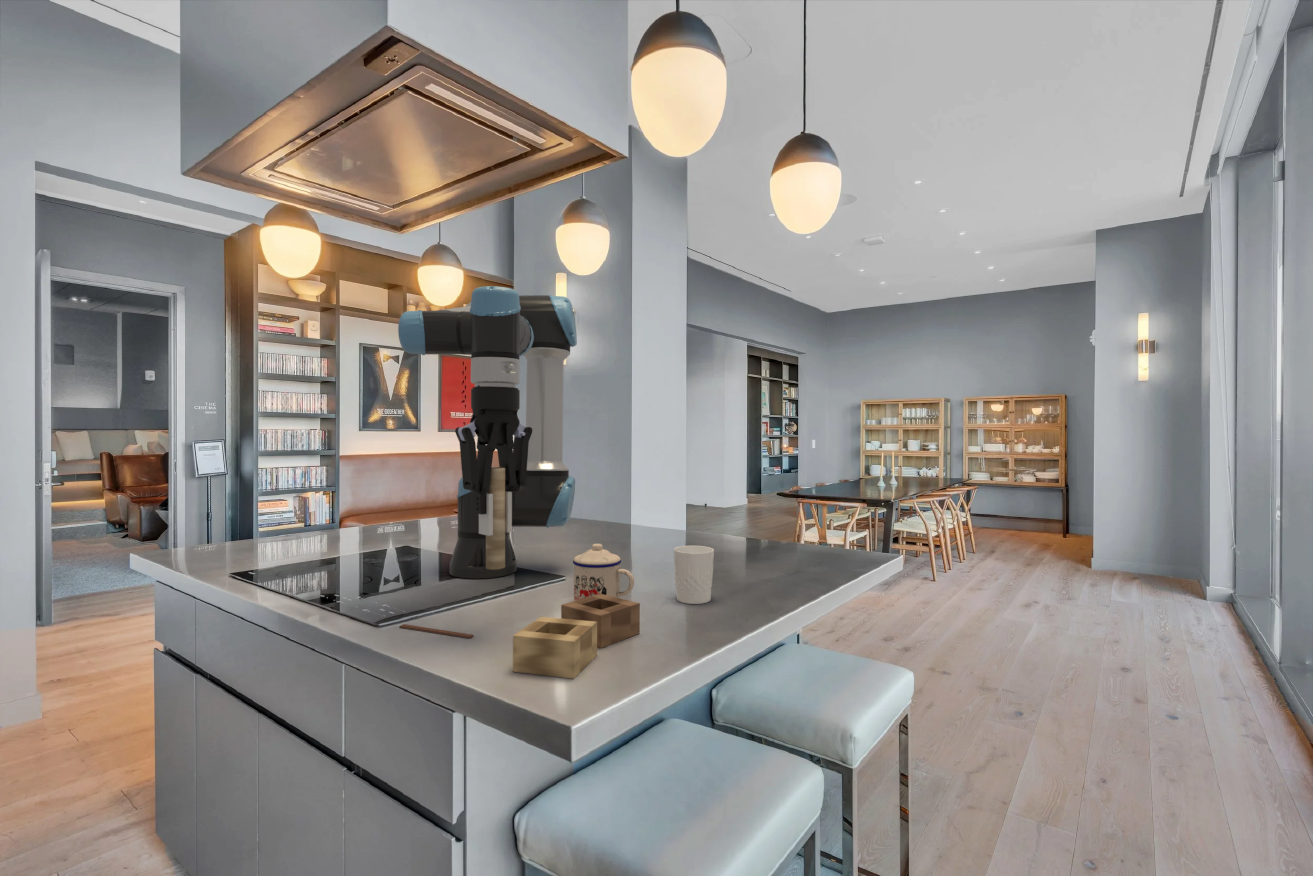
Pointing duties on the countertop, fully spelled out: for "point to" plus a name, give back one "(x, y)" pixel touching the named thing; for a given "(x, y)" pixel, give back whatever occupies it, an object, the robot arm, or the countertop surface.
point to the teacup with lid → (599, 574)
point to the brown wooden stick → (437, 631)
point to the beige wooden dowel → (497, 521)
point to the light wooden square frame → (555, 647)
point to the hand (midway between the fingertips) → (495, 532)
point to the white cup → (693, 573)
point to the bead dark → (606, 617)
